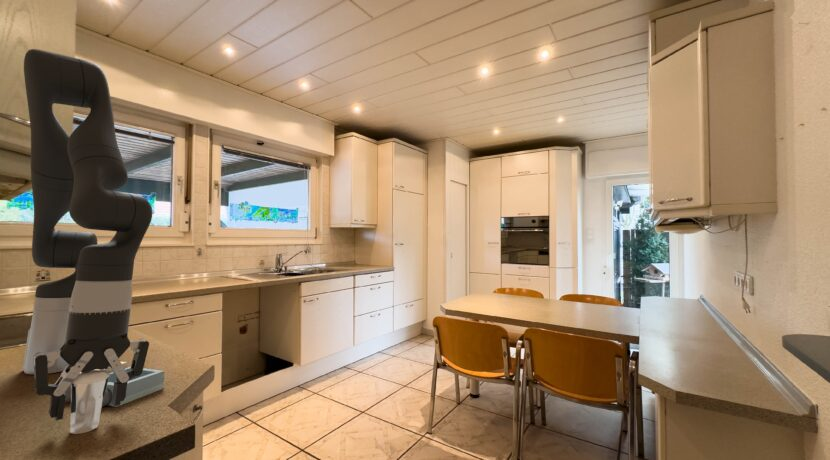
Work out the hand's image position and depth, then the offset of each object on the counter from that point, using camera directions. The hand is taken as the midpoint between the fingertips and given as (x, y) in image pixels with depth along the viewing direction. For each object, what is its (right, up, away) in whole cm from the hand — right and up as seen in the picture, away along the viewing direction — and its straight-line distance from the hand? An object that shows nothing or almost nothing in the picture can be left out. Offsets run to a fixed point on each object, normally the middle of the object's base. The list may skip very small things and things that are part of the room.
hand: (88, 410), depth 54 cm
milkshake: (0, -3, 0) cm, 3 cm away
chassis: (-8, -4, +13) cm, 15 cm away
